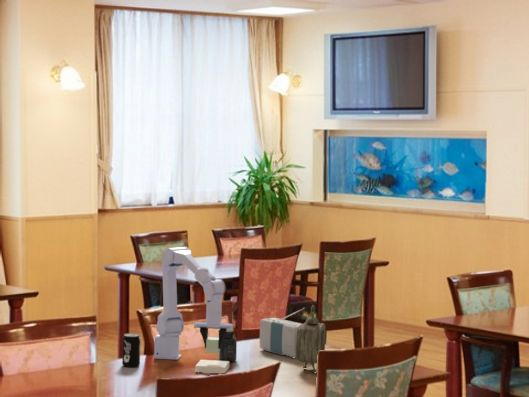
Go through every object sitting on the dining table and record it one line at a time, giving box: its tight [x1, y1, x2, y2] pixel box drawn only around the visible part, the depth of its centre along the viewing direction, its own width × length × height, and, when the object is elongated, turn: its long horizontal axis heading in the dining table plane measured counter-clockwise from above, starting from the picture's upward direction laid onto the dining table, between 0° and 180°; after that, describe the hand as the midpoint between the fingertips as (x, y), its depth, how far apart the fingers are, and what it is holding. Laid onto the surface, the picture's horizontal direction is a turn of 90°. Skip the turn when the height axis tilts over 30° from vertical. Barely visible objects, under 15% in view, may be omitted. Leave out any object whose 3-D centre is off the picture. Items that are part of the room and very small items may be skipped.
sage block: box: [205, 336, 220, 354], centre depth 400 cm, size 4×4×5 cm
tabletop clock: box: [295, 304, 326, 373], centre depth 405 cm, size 14×9×25 cm, turn 168°
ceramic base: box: [194, 359, 230, 374], centre depth 401 cm, size 11×11×3 cm
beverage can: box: [121, 332, 141, 368], centre depth 403 cm, size 7×7×12 cm
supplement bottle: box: [218, 329, 238, 363], centre depth 417 cm, size 7×7×12 cm
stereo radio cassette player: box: [259, 307, 305, 358], centre depth 433 cm, size 21×8×20 cm, turn 42°
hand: (212, 347), depth 400 cm, fingers closed on sage block, 4 cm apart
